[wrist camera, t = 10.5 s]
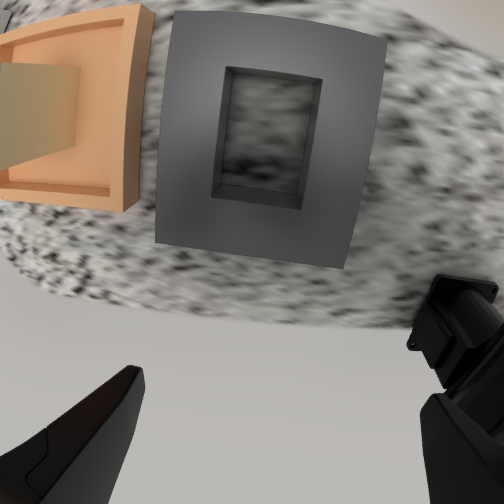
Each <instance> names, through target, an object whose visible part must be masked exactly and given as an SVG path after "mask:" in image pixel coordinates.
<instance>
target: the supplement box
mask: <svg viewBox="0 0 504 504" xmlns="http://www.w3.org/2000/svg"><path fill="white" fill-rule="evenodd" d="M11 13H12V11H9V10H3V9H0V34H3V33H4V31H5V28H6V26H7V23H8V21H9V18H10V16H11Z"/></svg>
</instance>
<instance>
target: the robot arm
mask: <svg viewBox="0 0 504 504" xmlns="http://www.w3.org/2000/svg"><path fill="white" fill-rule="evenodd" d="M440 281H442V282H441V283H440V284H439V282H440ZM492 289H493V290H492ZM498 290H499V287H498V285H497V284H496V283H494V282H487V281H481V280H474V279H467V278H460V277H454V276H447V275H438V276H437V277H436V278H435V279H434V281H433V284H432V286H431V289H430V291H429V294H428V296H427V299H426V301H425V303H424V304H423V307H422V309H421V311H420V314H419V316H418V318H417V320H416V323H415V325H414V327H413V329H412V333H411V335H410V337H409V339H408V341H407V348H408V349H409V350H410V351H422V353H423V355H424V357H425V359H426V360H427V363H428V365H429V367H430V368H431V369H434V370H435V372H436V374H437V376H438V378H439V381H440V383H441V385H442V387H443V389H447V390H446V391H445V392H444V393H437V394H436V393H435V394H432V395H431V396H430V397H429V398H428V400H427V401H426V403H425V405H424V406H423V407H422V409H421V412H420V423H421V434H422V447H423V456H424V462H425V469H426V475H427V482H428V489H429V497H430V504H504V318H503V317H502V316H501V315H500V314H499V312H498V311H497V310H496V309H495V308H494V307H493V305H492V303H493V301H494V299H495V297H496V295H497V292H498ZM412 344H413V345H412ZM144 393H145V381H144V375H143V369H142V368H141V367H138V366H134V365H128V366H126V367H125V368H124V369H122V370H121V371H120V372H118V373H117V374H116V375H114V376H113V377H112V378H111V379H109V380H108V381H107V382H105V383H104V384H103V385H101V386H100V387H99V388H97V389H96V390H95V391H93V392H92V393H91V394H89V395H88V396H87V397H85V398H84V399H83V400H81V401H80V402H79V403H77V404H76V405H75V406H73V407H72V408H71V409H69V410H68V411H67V412H66V413H64V414H63V415H61V416H60V417H59V418H57V419H56V420H55V421H53V422H52V423H51V424H49V425H48V426H47V428H44V429H43V430H41V431H40V432H38V433H37V434H36V435H34V436H33V437H31V438H30V439H29V440H27V441H26V442H24V443H22V444H21V445H19V446H17V447H16V448H14V449H12V450H11V451H9V452H7V453H5V454H4V455H2V456H0V504H108V502H109V499H110V497H111V494H112V491H113V489H114V486H115V483H116V480H117V478H118V475H119V472H120V470H121V467H122V464H123V461H124V459H125V456H126V454H127V451H128V449H129V446H130V443H131V441H132V438H133V435H134V431H135V428H136V424H137V419H138V415H139V412H140V408H141V404H142V400H143V396H144Z"/></svg>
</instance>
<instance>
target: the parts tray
mask: <svg viewBox="0 0 504 504" xmlns="http://www.w3.org/2000/svg"><path fill="white" fill-rule="evenodd" d="M154 19H155V13H153V12H152V11H151V10H149V9H148V8H146V7H145V6H143V5H142V4H132V5H123V6H115V7H108V8H102V9H96V10H90V11H85V12H80V13H75V14H70V15H66V16H61V17H57V18H53V19H49V20H45V21H41V22H38V23H34V24H31V25H28V26H24V27H21V28H18V29H15V30H12V31H9V32H6V33H3V34H0V62H9V63H33V64H48V65H60V66H70V67H79V68H81V70H80V79H79V89H78V100H77V115H76V137H75V147H72V148H68V149H65V150H62V151H58V152H55V153H52V154H48V155H45V156H42V157H39V158H36V159H33V160H30V161H27V162H24V163H21V164H19V165H16V166H13V167H10V168H8V169H5V170H2V171H0V199H1V200H12V201H22V202H32V203H42V204H51V205H61V206H70V207H79V208H88V209H97V210H105V211H114V212H122V213H123V212H124V211H126V210H127V209H128V208H130V207H131V206H132V205H133V204H135V203H136V202H137V201H138V188H139V159H140V140H141V125H142V113H143V101H144V91H145V82H146V73H147V65H148V58H149V50H150V44H151V37H152V31H153V25H154Z"/></svg>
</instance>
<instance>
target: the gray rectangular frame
mask: <svg viewBox="0 0 504 504" xmlns="http://www.w3.org/2000/svg"><path fill="white" fill-rule="evenodd" d="M386 49H387V40H386V39H383V38H380V37H376V36H373V35H369V34H366V33H362V32H358V31H354V30H350V29H346V28H341V27H337V26H332V25H328V24H323V23H318V22H312V21H307V20H301V19H294V18H288V17H281V16H273V15H264V14H254V13H242V12H225V11H175V14H174V19H173V25H172V32H171V38H170V45H169V52H168V59H167V66H166V74H165V83H164V91H163V101H162V111H161V122H160V134H159V148H158V165H157V185H156V217H155V243H161V244H168V245H175V246H182V247H189V248H196V249H203V250H210V251H217V252H224V253H231V254H238V255H245V256H252V257H259V258H266V259H273V260H280V261H288V262H295V263H302V264H309V265H316V266H323V267H331V268H338V269H343V268H344V264H345V261H346V257H347V253H348V249H349V245H350V242H351V238H352V234H353V230H354V226H355V222H356V217H357V213H358V209H359V205H360V200H361V196H362V191H363V187H364V182H365V177H366V173H367V168H368V163H369V158H370V153H371V148H372V142H373V137H374V131H375V126H376V120H377V114H378V108H379V101H380V95H381V88H382V81H383V73H384V66H385V57H386ZM233 73H238V74H248V75H257V76H265V77H273V78H280V79H287V80H293V81H299V82H305V83H311V84H315V85H314V92H313V99H312V105H311V112H310V118H309V125H308V131H307V138H306V144H305V150H304V156H303V162H302V168H301V174H300V180H299V186H298V192H297V195H296V194H289V193H283V192H276V191H269V190H262V189H255V188H248V187H240V186H233V185H225V184H220V182H221V172H222V163H223V154H224V145H225V136H226V128H227V119H228V111H229V103H230V95H231V87H232V80H233Z"/></svg>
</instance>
